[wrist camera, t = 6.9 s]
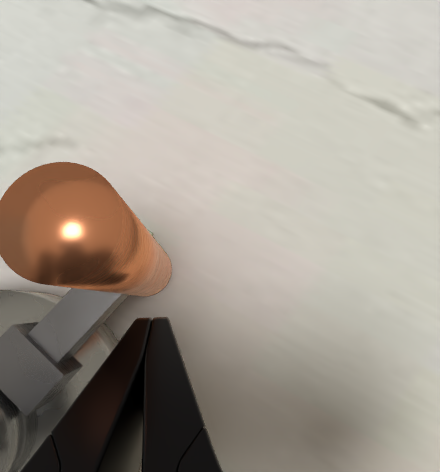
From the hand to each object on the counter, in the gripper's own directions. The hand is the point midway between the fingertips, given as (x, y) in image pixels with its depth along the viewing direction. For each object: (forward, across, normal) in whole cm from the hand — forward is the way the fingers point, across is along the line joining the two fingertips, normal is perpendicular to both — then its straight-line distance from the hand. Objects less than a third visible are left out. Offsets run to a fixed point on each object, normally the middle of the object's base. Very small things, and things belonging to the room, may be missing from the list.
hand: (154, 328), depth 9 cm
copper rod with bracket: (+5, +3, +4) cm, 7 cm away
